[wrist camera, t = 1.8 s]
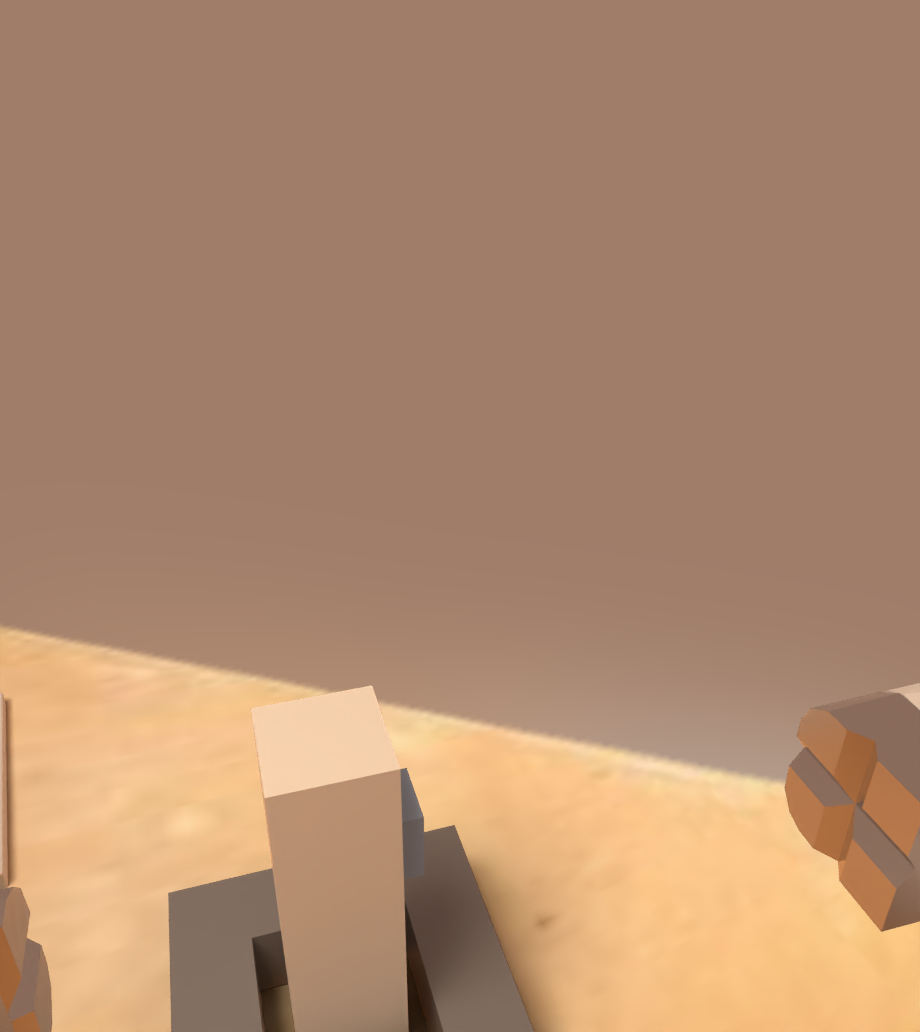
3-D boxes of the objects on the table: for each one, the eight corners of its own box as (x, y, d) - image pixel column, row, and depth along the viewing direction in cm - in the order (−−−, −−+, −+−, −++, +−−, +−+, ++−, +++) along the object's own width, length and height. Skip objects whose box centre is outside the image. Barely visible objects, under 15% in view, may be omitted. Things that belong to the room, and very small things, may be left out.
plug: (305, 1108, 29) (264, 798, 22) (291, 1009, 32) (250, 708, 25) (432, 1069, 30) (429, 762, 23) (407, 976, 33) (398, 680, 26)
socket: (191, 1287, 25) (175, 1235, 23) (180, 945, 34) (168, 893, 32) (555, 1158, 27) (562, 1105, 26) (454, 876, 37) (454, 825, 35)
